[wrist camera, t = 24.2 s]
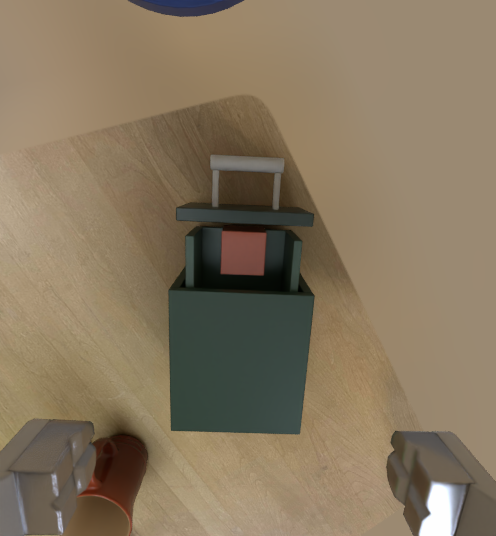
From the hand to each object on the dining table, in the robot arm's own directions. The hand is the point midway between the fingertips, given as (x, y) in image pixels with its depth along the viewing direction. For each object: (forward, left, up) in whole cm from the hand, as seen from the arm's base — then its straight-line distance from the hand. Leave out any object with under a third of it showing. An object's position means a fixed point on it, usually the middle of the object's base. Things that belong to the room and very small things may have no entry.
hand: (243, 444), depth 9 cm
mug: (+30, -16, -31) cm, 46 cm away
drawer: (0, 0, -30) cm, 30 cm away
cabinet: (+11, 0, -31) cm, 33 cm away
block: (0, 0, -29) cm, 29 cm away
